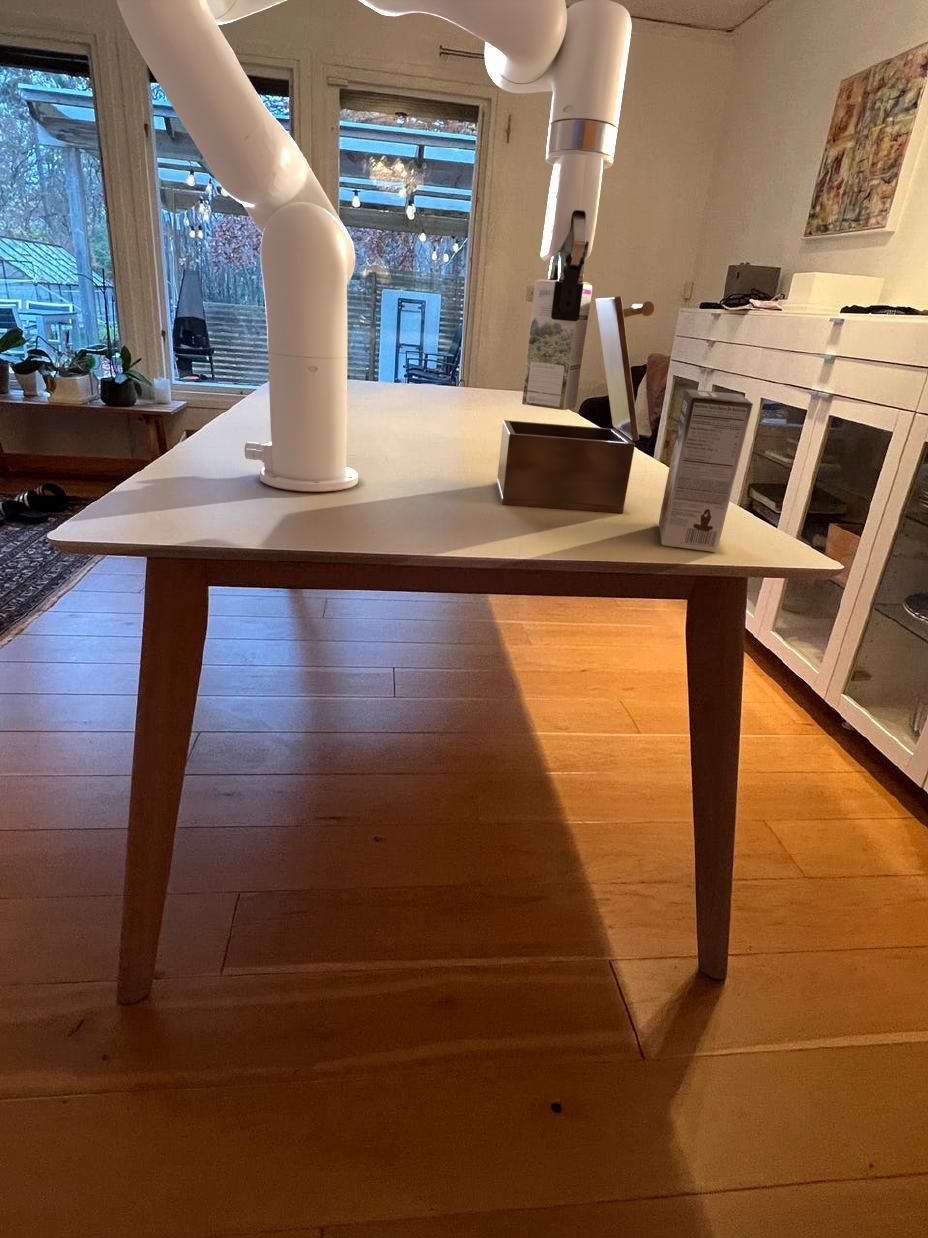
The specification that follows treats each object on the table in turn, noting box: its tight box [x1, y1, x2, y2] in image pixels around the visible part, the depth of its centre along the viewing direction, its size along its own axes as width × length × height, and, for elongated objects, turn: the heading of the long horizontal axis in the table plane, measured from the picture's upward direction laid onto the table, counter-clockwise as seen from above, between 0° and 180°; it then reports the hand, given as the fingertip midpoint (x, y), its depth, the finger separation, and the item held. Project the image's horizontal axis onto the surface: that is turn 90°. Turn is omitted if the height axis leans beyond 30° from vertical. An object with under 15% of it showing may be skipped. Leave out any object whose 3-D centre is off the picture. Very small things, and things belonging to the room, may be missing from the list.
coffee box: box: [658, 389, 754, 553], centre depth 77 cm, size 9×6×16 cm
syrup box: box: [521, 279, 593, 411], centre depth 86 cm, size 6×6×14 cm
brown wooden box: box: [496, 419, 636, 514], centre depth 92 cm, size 16×12×9 cm
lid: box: [595, 295, 656, 442], centre depth 87 cm, size 16×12×5 cm
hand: (559, 318), depth 84 cm, fingers closed on syrup box, 7 cm apart
